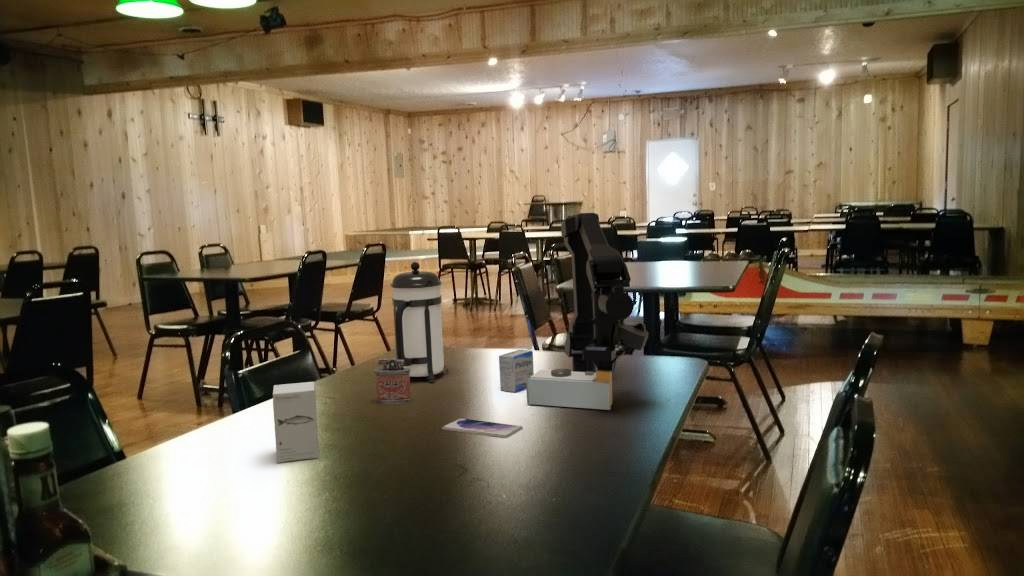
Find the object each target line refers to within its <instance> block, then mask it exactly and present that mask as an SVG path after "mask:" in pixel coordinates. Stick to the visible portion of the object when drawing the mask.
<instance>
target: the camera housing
mask: <svg viewBox="0 0 1024 576" xmlns="http://www.w3.org/2000/svg"><path fill="white" fill-rule="evenodd" d="M530 378H543V379H560V380H578V381H595V382H596V373H594V372H591V371H587V372H574V371H573V370H571V369H569V368H557V369H555V368H554V369H552V370H551V369H540V370H538V371H537V372H535V373H534V375H532V376H531V377H530Z"/></svg>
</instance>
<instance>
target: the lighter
mask: <svg viewBox="0 0 1024 576" xmlns="http://www.w3.org/2000/svg"><path fill="white" fill-rule="evenodd" d="M376 364H377V366H382V368H376V369H374V374H375V381H376V383H375V384H376V403H377V404H382V405H393V404H397V405H399V404H408V403H412V401H413V398H412V393H411V377H410V375H409V373H410V368H404V360H397V359H396V357H392V358H391V359H388V358H378V359H377V361H376ZM399 365H400V366H399Z"/></svg>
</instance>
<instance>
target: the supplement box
mask: <svg viewBox="0 0 1024 576" xmlns="http://www.w3.org/2000/svg"><path fill="white" fill-rule="evenodd" d="M272 389H273V390H272V408H273V421H274V422H273V423H274V434H275V435H274V438H275V451H276V463H277V464H279V463H280V464H281V463H284V462H285V463H286V462H292V461H293V462H294V461H301V460H310V459H311V460H312V459H319V457H320V450H319V433H318V419H317V418H318V417H317V415H318V414H317V399H316V383H315V381H306V382H304V381H303V382H296V383H293V382H292V383H285V384H283V383H282V384H274V385H273V388H272Z"/></svg>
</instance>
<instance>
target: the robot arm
mask: <svg viewBox="0 0 1024 576" xmlns="http://www.w3.org/2000/svg"><path fill="white" fill-rule="evenodd" d="M560 234H561V237H562V238H563V243H564V246H565V248H566V249H567V250H568V252H569V253H570V255H571V267H572V268H571V271H572V287H573V289H572V290H573V306H574V308H573V309H574V314H573V316H572V319H571V321H569V322H570V323H569V324H568V332H567V333H566V337H565V343H564V351H565V355H566V356H567V357H568V358H571V360H572V363H571V364H572V371H574V372H587V371H591V372H594V373H596V371H597V370H605V371H612V382H613V380H614V375H615V372H616V371H615V370H616V367H617V362H618V360H619V359H620V358H621V357H622V356H623V354H625V352H626V351H625V350H619V347H618V346H619V345H625V346H626V348H628V347H631V348H633V349H634V350H637V351H641V350H642V349H644V348H645V346H646V343H647V340H648V339H649V334H650V333H649V331H647V327H646V324H645V323H641V322H637V324H635V326H633V325H629V324H625V320H626V319H628V318H629V317H630V316H631V314H632V313H633V310H634V307H635V305H634V304H635V303H634V301H633V299H632V297H631V296H630V295H629V294H628V293H626V292H625V288H630V286H631V285H630V283H631V281H632V280H631V276H630V273H629V270H628V266H627V264H626V261H625V260H624V258H623V257H622V255H621V254H620V252H619V251H618V250H617V249H616V248H614V247H612V246H610V245H609V243H608V240H607V238H606V236H605V234H604V232H603V228H602V226H601V225H600V217H599V214H598V213H595V212H579V213H578V214H575V215H574V216H572V217H569V218H568V217H566V218H565V219H564V220H563V221H562V223H561V225H560Z"/></svg>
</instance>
